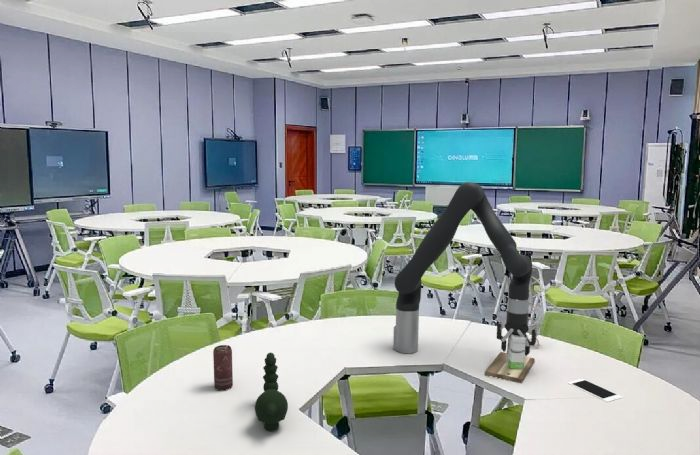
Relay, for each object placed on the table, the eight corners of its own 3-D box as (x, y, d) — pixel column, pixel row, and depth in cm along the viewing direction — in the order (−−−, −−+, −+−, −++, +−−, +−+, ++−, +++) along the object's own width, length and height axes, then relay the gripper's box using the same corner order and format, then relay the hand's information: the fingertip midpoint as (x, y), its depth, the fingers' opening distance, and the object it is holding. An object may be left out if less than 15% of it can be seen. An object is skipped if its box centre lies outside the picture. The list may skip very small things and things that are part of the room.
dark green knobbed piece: (256, 407, 170) (254, 442, 145) (255, 348, 169) (253, 374, 144) (285, 405, 171) (289, 439, 147) (285, 347, 170) (288, 372, 146)
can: (236, 384, 182) (235, 345, 180) (226, 392, 176) (225, 352, 174) (221, 381, 184) (220, 343, 182) (210, 389, 178) (209, 349, 176)
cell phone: (607, 403, 172) (607, 401, 172) (567, 384, 186) (567, 382, 186) (623, 398, 175) (623, 396, 175) (582, 379, 189) (582, 378, 189)
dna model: (543, 347, 219) (547, 276, 215) (533, 350, 216) (537, 278, 212) (529, 342, 225) (533, 273, 221) (519, 345, 221) (523, 275, 217)
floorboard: (484, 375, 192) (484, 370, 191) (500, 355, 210) (500, 350, 210) (521, 383, 185) (521, 378, 185) (534, 362, 204) (534, 357, 204)
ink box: (523, 369, 192) (526, 338, 191) (509, 368, 193) (512, 337, 191) (518, 360, 201) (521, 330, 199) (505, 359, 201) (508, 329, 200)
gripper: (495, 309, 194) (493, 352, 196) (535, 315, 187) (533, 360, 189) (500, 304, 201) (498, 346, 203) (540, 310, 194) (537, 353, 196)
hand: (515, 352), depth 196 cm, fingers open, 7 cm apart
